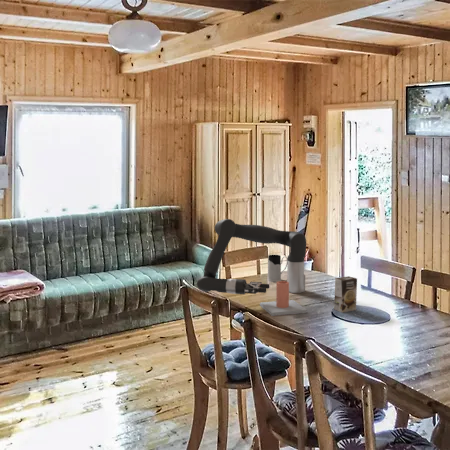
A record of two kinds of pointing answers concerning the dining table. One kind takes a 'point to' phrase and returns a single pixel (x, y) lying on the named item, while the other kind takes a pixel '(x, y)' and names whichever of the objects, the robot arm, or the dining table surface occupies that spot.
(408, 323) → the dining table surface
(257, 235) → the robot arm
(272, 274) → the glass holder
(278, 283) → the sleeve
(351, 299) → the coffee box
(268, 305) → the post board
